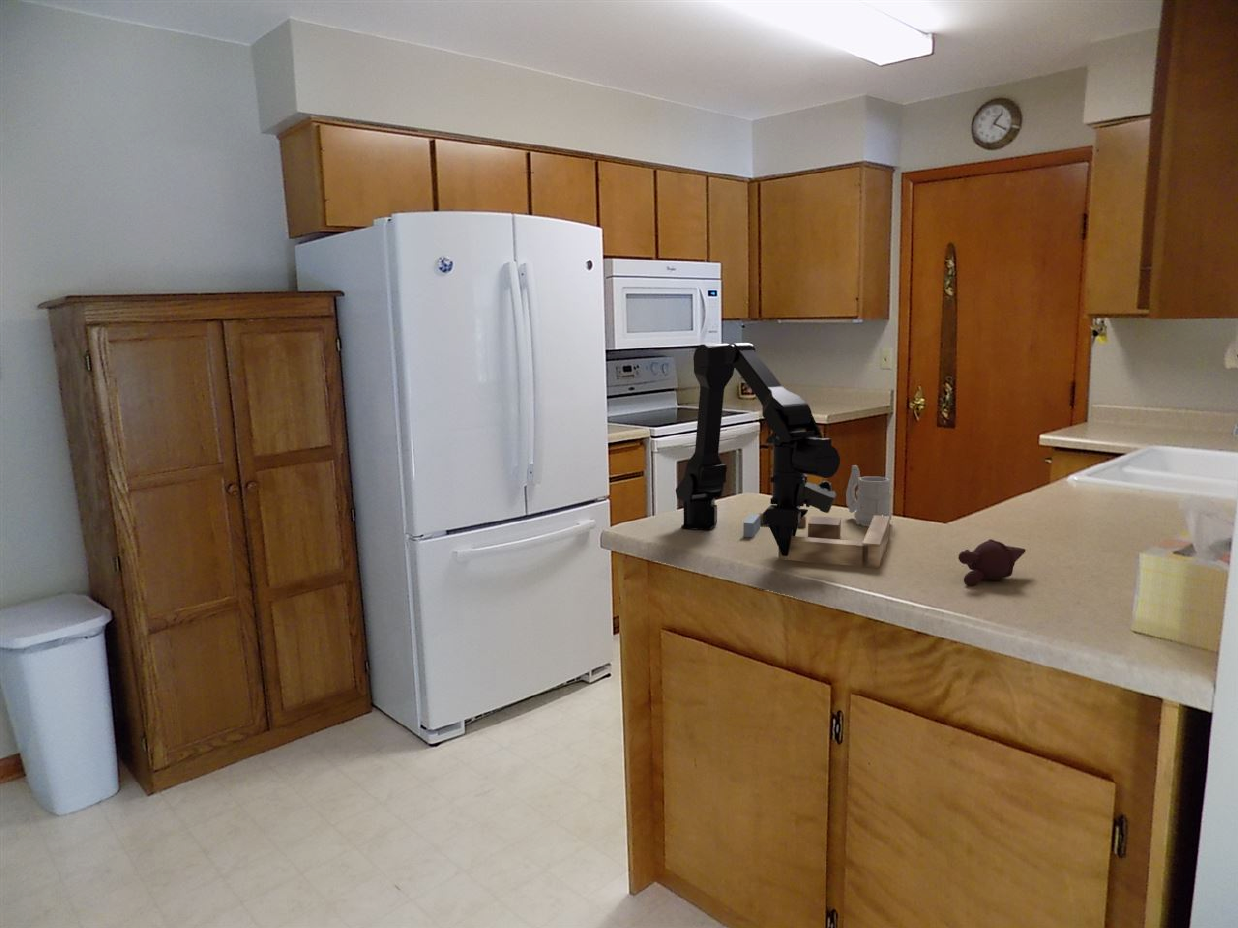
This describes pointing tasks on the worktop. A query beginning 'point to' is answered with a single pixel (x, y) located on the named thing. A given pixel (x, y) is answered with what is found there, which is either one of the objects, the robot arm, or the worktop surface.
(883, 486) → the mug
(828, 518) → the block
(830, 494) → the robot arm
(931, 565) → the worktop surface
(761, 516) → the dowel
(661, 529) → the worktop surface
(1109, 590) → the worktop surface
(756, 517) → the stop batten
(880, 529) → the wooden l-shaped bracket
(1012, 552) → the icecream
